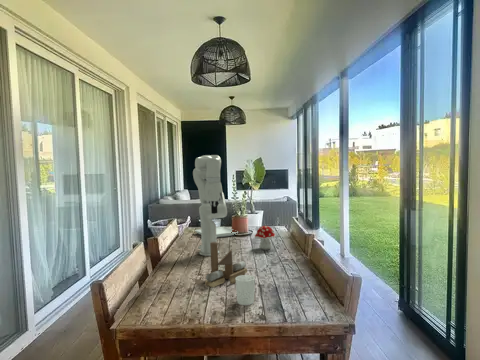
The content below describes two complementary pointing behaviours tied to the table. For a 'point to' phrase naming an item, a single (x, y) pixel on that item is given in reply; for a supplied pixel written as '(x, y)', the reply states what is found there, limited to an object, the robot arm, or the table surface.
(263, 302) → the table surface
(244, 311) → the table surface
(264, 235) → the decorative mushroom
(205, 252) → the robot arm
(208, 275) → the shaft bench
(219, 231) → the square plate
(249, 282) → the white cup
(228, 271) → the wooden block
